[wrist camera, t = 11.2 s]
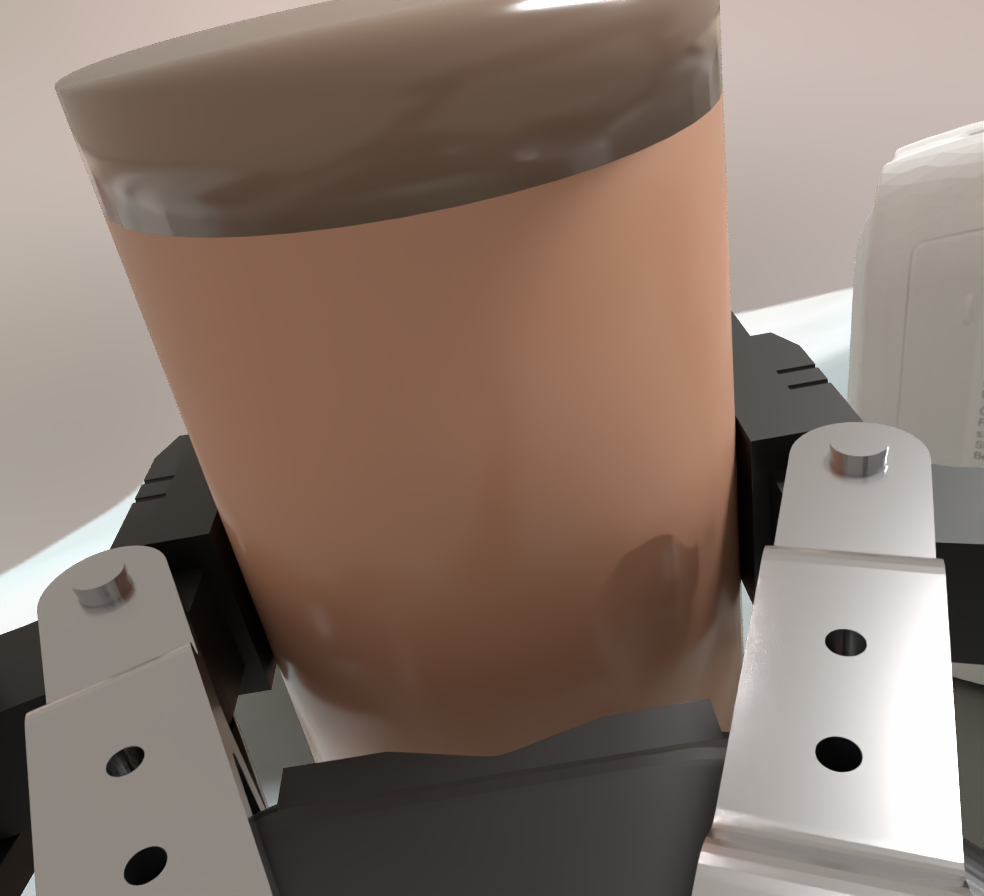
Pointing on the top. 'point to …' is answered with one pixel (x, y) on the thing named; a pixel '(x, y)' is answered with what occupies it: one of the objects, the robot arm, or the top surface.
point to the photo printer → (925, 304)
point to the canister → (448, 349)
